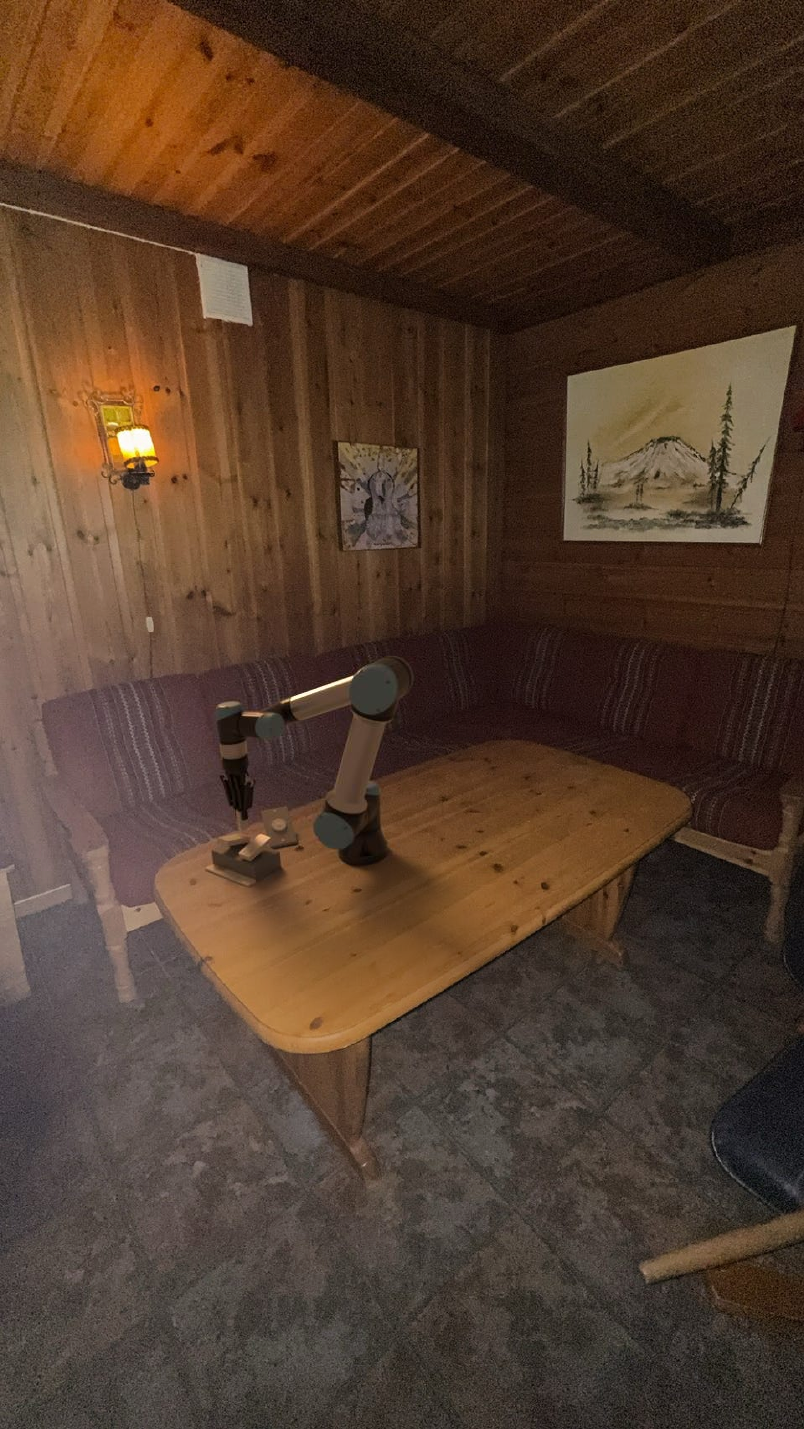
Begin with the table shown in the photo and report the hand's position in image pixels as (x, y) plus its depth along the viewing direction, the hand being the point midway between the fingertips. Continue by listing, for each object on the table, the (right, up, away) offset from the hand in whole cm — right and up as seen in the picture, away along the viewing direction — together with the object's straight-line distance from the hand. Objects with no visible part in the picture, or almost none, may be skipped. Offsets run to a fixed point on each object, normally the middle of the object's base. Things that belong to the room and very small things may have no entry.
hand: (243, 828), depth 187 cm
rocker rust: (-2, -3, -2) cm, 4 cm away
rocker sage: (+5, -4, -7) cm, 10 cm away
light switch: (+8, -6, +14) cm, 18 cm away
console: (+1, -11, -4) cm, 11 cm away
